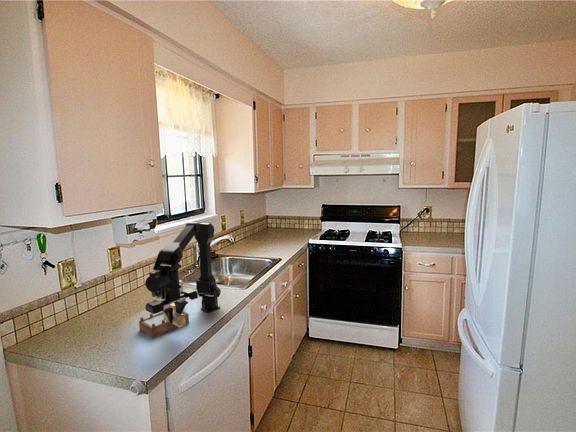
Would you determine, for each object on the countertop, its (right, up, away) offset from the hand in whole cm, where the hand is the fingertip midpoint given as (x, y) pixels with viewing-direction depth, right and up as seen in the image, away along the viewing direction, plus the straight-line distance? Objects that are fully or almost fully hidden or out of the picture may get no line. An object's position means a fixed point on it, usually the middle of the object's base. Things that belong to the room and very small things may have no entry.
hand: (174, 321), depth 125 cm
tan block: (0, 0, 0) cm, 0 cm away
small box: (-9, -3, +25) cm, 27 cm away
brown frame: (-7, -5, +9) cm, 13 cm away
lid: (-7, -2, +9) cm, 11 cm away
